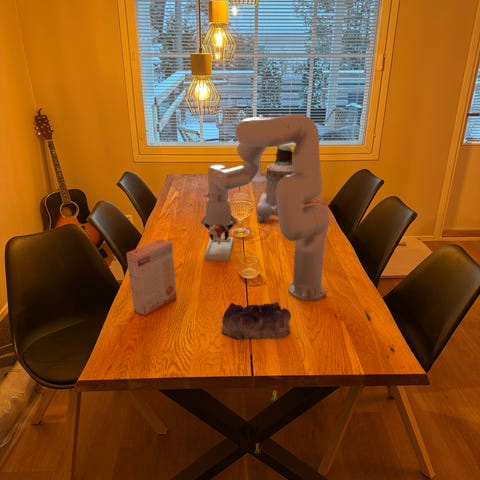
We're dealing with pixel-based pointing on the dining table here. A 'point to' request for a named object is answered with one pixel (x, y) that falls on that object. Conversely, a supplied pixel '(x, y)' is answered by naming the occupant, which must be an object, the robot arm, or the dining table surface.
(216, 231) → the bull figurine
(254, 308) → the geode
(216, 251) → the tray
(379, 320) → the dining table surface
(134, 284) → the cracker box
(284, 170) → the cookie jar
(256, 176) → the candlestick
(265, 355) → the dining table surface
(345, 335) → the dining table surface
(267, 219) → the chubby cartoon animal
